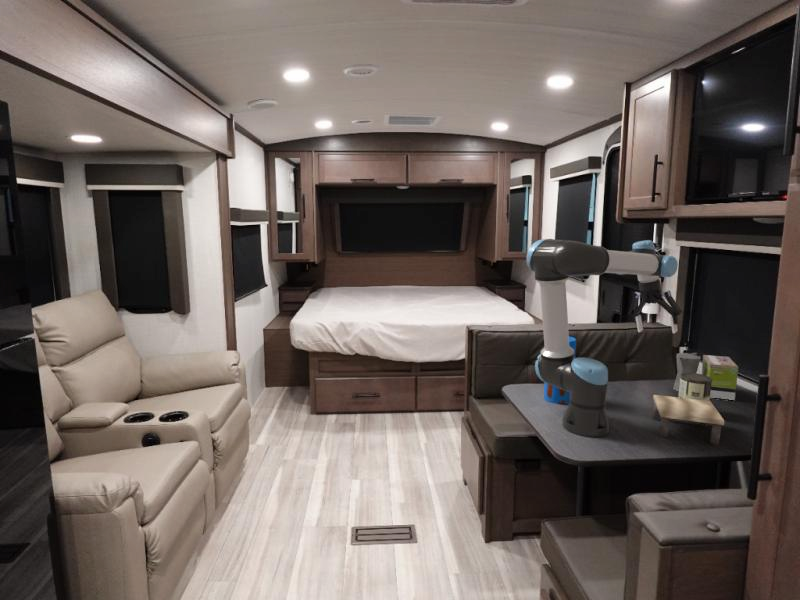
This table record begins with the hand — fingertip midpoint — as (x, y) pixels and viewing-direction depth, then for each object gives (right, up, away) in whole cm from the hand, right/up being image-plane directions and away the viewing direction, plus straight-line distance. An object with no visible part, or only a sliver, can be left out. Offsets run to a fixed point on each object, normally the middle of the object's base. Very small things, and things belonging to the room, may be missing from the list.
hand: (657, 331), depth 198 cm
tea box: (+29, -27, +9) cm, 41 cm away
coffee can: (+7, -30, -11) cm, 33 cm away
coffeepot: (+19, -26, +14) cm, 35 cm away
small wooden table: (-5, -32, -27) cm, 42 cm away
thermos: (-40, -27, +1) cm, 48 cm away
